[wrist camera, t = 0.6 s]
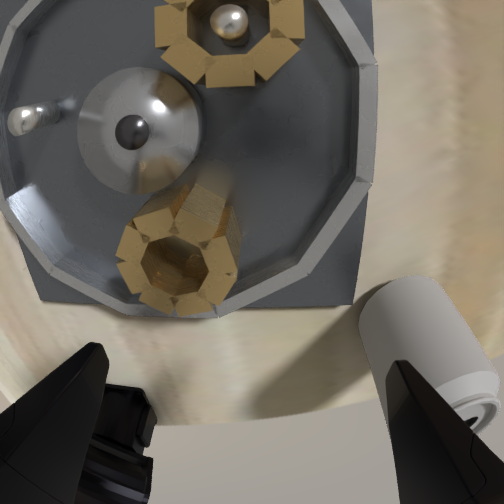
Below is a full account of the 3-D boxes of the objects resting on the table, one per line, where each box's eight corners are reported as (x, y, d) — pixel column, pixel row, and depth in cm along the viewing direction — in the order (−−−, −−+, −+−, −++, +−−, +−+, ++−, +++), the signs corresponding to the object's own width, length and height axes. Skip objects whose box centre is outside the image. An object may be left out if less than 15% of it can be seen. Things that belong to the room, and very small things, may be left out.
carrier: (46, 293, 24) (20, 326, 20) (-1, 2, 12) (-41, -1, 8) (349, 296, 23) (364, 338, 19) (358, -63, 11) (381, -93, 7)
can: (387, 354, 26) (425, 472, 16) (336, 314, 24) (370, 456, 13) (453, 302, 23) (519, 412, 13) (411, 249, 21) (496, 376, 11)
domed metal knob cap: (106, 184, 18) (86, 200, 16) (93, 80, 15) (69, 81, 13) (210, 177, 18) (201, 192, 16) (203, 62, 15) (193, 57, 13)
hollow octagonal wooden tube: (163, 284, 22) (147, 322, 18) (126, 202, 19) (99, 229, 15) (251, 264, 21) (249, 303, 17) (221, 172, 18) (211, 195, 14)
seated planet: (179, 91, 16) (157, 93, 12) (176, -10, 13) (154, -32, 9) (295, 86, 16) (305, 85, 12) (292, -17, 13) (300, -43, 9)
